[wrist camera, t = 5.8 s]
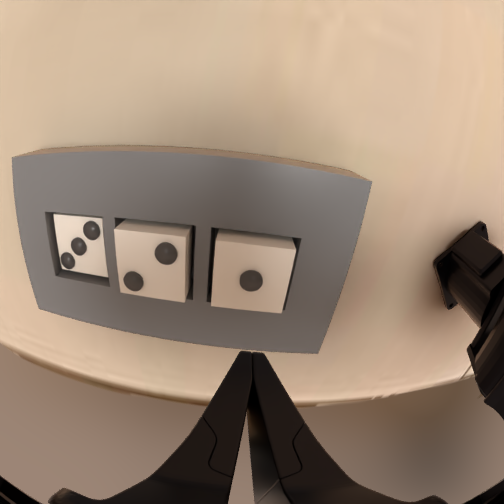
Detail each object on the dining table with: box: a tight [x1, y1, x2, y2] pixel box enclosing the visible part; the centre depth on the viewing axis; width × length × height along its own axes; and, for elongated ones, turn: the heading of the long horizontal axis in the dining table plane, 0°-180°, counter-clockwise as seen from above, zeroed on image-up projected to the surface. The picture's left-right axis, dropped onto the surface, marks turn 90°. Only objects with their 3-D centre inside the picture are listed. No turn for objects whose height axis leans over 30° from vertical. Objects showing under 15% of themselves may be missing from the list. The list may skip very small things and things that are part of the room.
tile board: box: [12, 145, 372, 354], centre depth 16 cm, size 22×12×3 cm, turn 82°
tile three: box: [53, 212, 109, 277], centre depth 16 cm, size 4×4×2 cm
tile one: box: [211, 228, 296, 313], centre depth 15 cm, size 4×4×2 cm
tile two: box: [114, 218, 193, 303], centre depth 15 cm, size 4×4×2 cm
